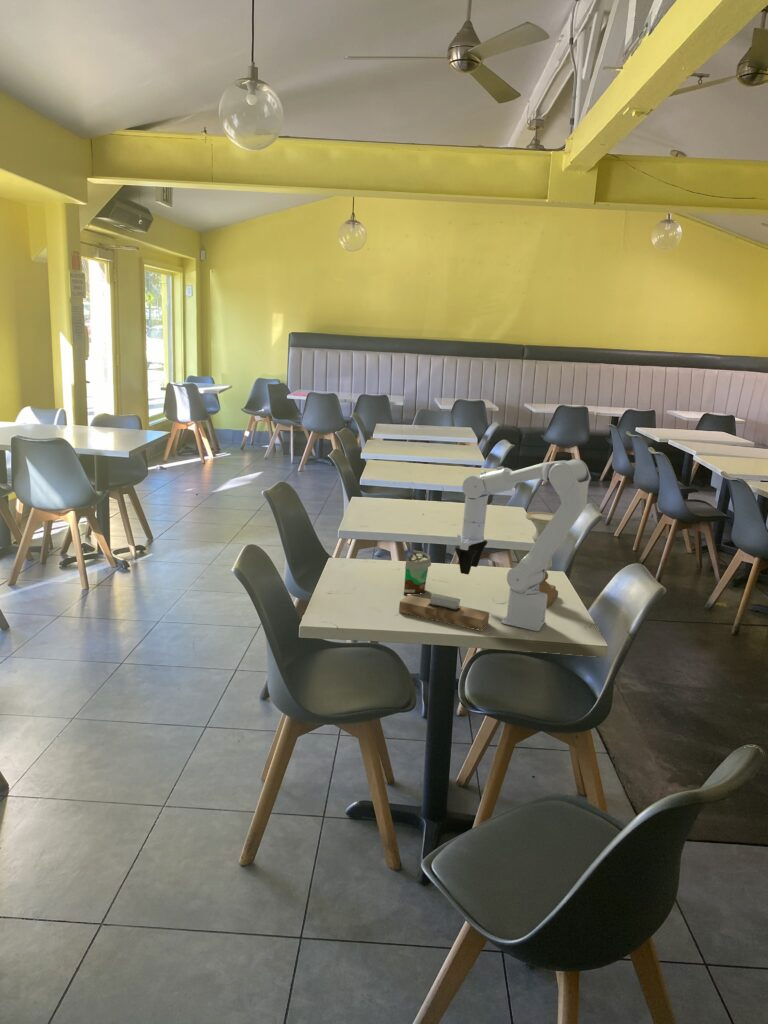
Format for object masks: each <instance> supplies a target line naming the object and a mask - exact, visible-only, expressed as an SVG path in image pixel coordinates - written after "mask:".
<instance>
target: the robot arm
mask: <svg viewBox="0 0 768 1024" xmlns="http://www.w3.org/2000/svg"><path fill="white" fill-rule="evenodd" d="M589 470H590V469H589V467H588V466H587V463H586V462H584V461H583V460H582V459H579V458H573V459H570V460H564V459H563V460H556V461H555V460H553V461H547V462H541V463H538V464H535V465H531V466H528V467H524V468H521V469H520V468H519V469H517V470H516V469H515V470H513V469H511V468H508V467H504V465H503V466H502V465H501V466H499V467H496V469H495V470H492V471H486V470H483V471H481V472H480V474H476V475H470V476H468V477H467V478H465V479H463V483H462V491H463V494H464V495H465V499H464V511H463V518H462V520H463V521H462V529H461V532H460V533H458V534H456V535H457V538H460V543H459V544H460V545H456V546H455V548H454V550H455V551H454V552H455V553H456V555H457V558H458V563H459V572H460V574H463V575H469V574H470V571H471V570H472V569H471V568H472V567H473V568H478V566H479V563H480V560H481V556H482V554H483V551H484V549H486V548H485V547H486V546H487V545H488V540H485V536H484V535H485V527H486V526H485V525H486V516H487V508H488V507H487V506H488V500H489V496H490V495H495V494H499V493H503V492H508V491H512V490H514V488H515V487H516V485H517V484H519V483H522V482H529V481H533V480H538V479H541V480H543V481H544V482H545V483H549V482H550V484H551V486H552V487H553V488H554V490H555V492H556V494H557V495H558V497H559V499H560V503H561V504H560V505H559V507H558V508H557V510H556V512H555V513H553V514H554V516H553V517H552V519H551V520H550V522H549V523H548V525H547V526H546V528H545V529H544V531H543V532H542V534H541V535H540V537H539V538H538V540H537V541H536V543H534V544H533V546H532V548H531V549H530V550H529V552H528V553H527V554H526V555H525V556H524V557H523V558H522V559H521V560H519V562H518V563H517V565H516V566H513V567H512V568H511V569H509V570H508V572H507V576H506V582H507V585H508V586H509V594H508V595H509V596H508V603H507V613H506V616H504V618H503V619H502V621H501V624H504V625H508V626H513V627H516V628H521V629H526V630H529V631H533V632H534V631H535V632H539V631H540V630H541V629H542V627H543V625H544V624H545V622H546V611H547V607H546V606H547V594H545V593H542V592H540V591H539V584H540V583H541V582H542V581H543V580H544V578H545V572H547V571H546V569H547V567H548V566H549V564H548V561H549V560H550V558H551V559H552V557H553V556H554V554H555V552H556V551H557V550H558V548H559V547H560V545H561V544H562V542H563V541H564V539H565V538H566V536H567V535H568V534H569V532H570V530H571V529H572V528H573V526H574V525H575V524H576V522H577V520H578V519H579V517H580V516H581V515H582V513H583V512H584V510H585V509H586V506H587V503H588V493H589V491H588V490H589V484H590V481H591V479H592V476H591V474H590V471H589Z"/></svg>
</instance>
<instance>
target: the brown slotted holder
mask: <svg viewBox="0 0 768 1024" xmlns="http://www.w3.org/2000/svg"><path fill="white" fill-rule="evenodd" d="M431 605H432V604H430V598H426V597H420V596H418V595H405V597H403V599H401V600H400V601H399V605H398V606H399V608H398V613H399V612H401V613H400V614H403V613H406V614H405V615H408V614H411V615H410V616H412V615H414V616H413V617H417V616H419V617H418V618H421V617H423V618H422V619H425V618H428V619H427V620H430V619H433V620H432V621H434V620H438V621H437V622H439V621H442V622H441V623H443V622H446V623H445V624H447V623H450V624H449V625H452V624H454V625H453V626H456V625H459V626H458V627H461V626H464V627H463V628H465V627H469V628H474V629H479V630H482V629H483V628H484V627H485V626H486V627H487V626H488V625H489V619H490V612H489V611H486V610H485V611H484V610H480V609H476V608H472V607H467V606H464V605H463V606H462V605H459V607H458V609H457V612H456V611H451V610H450V608H447V607H443V606H439V608H437V607H433V606H431ZM486 627H485V628H486ZM469 628H468V629H469ZM485 628H484V629H485ZM474 629H473V630H474ZM484 629H483V630H484ZM483 630H482V631H483Z"/></svg>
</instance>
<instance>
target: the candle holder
mask: <svg viewBox="0 0 768 1024" xmlns="http://www.w3.org/2000/svg"><path fill="white" fill-rule="evenodd" d="M554 514H555V513H551V512H544V511H530V512H526V513H525V518H526V519H527V520H529V521H531V522H533V524H534V526H535V529H536V531H535V533H534V534H533V536H532V537H531V538H532V539H533V542H534V544H535V543H536V541H537V540H538V538H539V537H540V535H541V534H542V532H543V531H544V529H545V528H546V526H547V525H548V523H549V522H550V520H551V519H552V517H553V516H554ZM552 561H553V559H552V557H551V558H550V560H549V561H548V564H549V566H548V567H547V569H546V572H545V578H544V580H543V581H542V582H541V583H540V584H539V591H540V592H542V593H545V594H547V606H546V608H549V607H550V606H551V605H552V604H553V603H554V602H555V601H556V600H557V599H558V597H559V590H557V589H556V588H557V587H556V586H555V585H553V584H549V582H548V581H547V580H548V578H549V574H548V572H547V571H548V570H550V569H551V568H552V566H553V562H552Z"/></svg>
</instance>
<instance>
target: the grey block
mask: <svg viewBox="0 0 768 1024" xmlns="http://www.w3.org/2000/svg"><path fill="white" fill-rule="evenodd" d="M429 599H430V604H432V605H431V606H433V607H437V608H439V606H443V607H447V608H450V610H451V611H456V612H457V609H458V607H459V606H461V605H460V602H461V598H458V597H451V596H447V595H443V594H437V593H433V594H431V596H430V597H429Z"/></svg>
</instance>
